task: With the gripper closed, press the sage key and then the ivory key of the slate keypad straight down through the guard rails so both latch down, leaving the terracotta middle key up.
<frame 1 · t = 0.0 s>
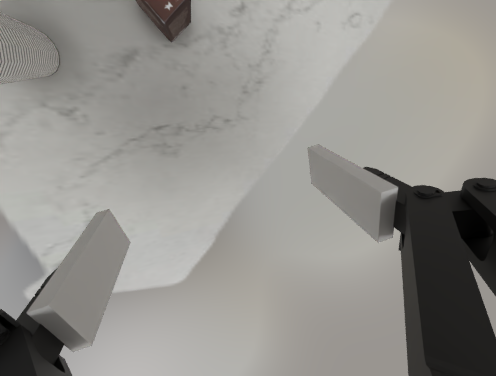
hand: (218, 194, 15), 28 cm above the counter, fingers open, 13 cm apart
cup: (35, 52, 31), on the counter
box: (166, 12, 32), on the counter
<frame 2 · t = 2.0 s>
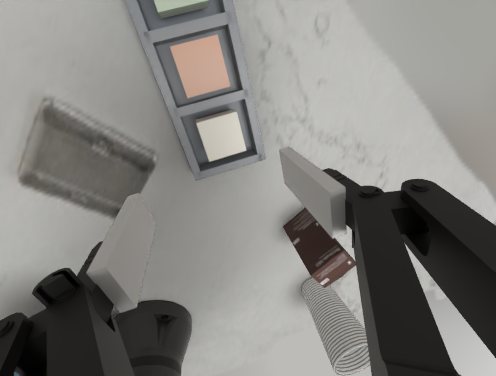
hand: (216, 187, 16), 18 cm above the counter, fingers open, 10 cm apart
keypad: (200, 69, 28), on the counter
key terracotta: (201, 68, 24), point 4 cm above the counter, slide at 0.0 cm
cup: (313, 284, 51), on the counter
key ivory: (221, 135, 28), point 4 cm above the counter, slide at 0.0 cm
box: (299, 221, 42), on the counter
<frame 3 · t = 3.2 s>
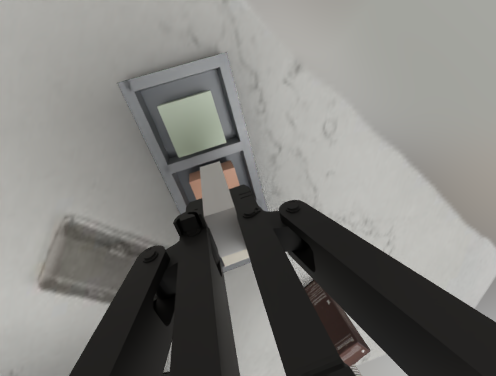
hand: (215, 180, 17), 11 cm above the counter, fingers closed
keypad: (214, 176, 29), on the counter
key terracotta: (217, 189, 25), point 4 cm above the counter, slide at 0.0 cm
key ivory: (236, 239, 29), point 4 cm above the counter, slide at 0.0 cm
key sage: (193, 123, 22), point 4 cm above the counter, slide at 0.0 cm
box: (309, 290, 43), on the counter
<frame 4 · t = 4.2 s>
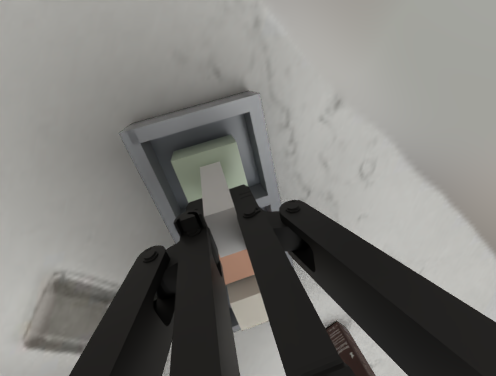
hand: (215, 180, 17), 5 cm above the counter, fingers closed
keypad: (231, 224, 24), on the counter
key terracotta: (238, 249, 21), point 4 cm above the counter, slide at 0.0 cm
key ivory: (255, 299, 24), point 4 cm above the counter, slide at 0.0 cm
key sage: (212, 174, 18), point 3 cm above the counter, slide at 0.9 cm, touching gripper
box: (327, 332, 39), on the counter
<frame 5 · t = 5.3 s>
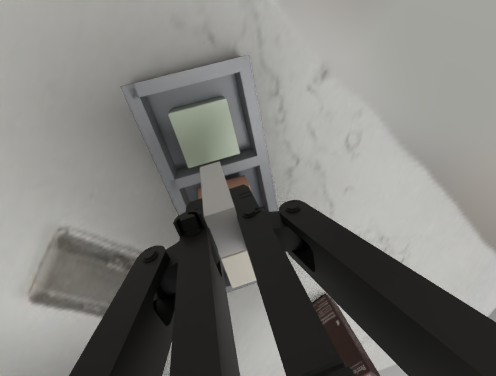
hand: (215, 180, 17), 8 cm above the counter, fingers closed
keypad: (224, 189, 26), on the counter
key terracotta: (229, 207, 23), point 4 cm above the counter, slide at 0.0 cm
key ivory: (245, 259, 26), point 4 cm above the counter, slide at 0.0 cm
key sage: (205, 131, 20), point 3 cm above the counter, slide at 1.4 cm
box: (316, 305, 41), on the counter
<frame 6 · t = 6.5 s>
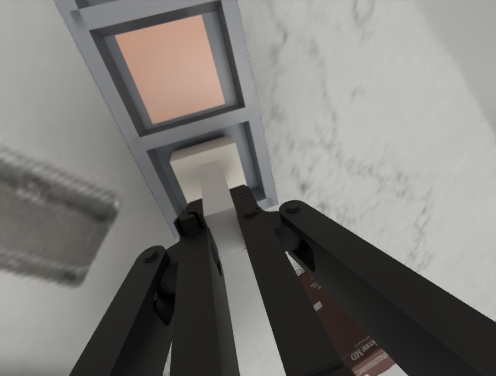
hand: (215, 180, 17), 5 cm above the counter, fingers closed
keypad: (179, 74, 18), on the counter
key terracotta: (176, 73, 14), point 4 cm above the counter, slide at 0.0 cm
key ivory: (211, 175, 18), point 4 cm above the counter, slide at 0.1 cm, touching gripper
box: (317, 270, 32), on the counter
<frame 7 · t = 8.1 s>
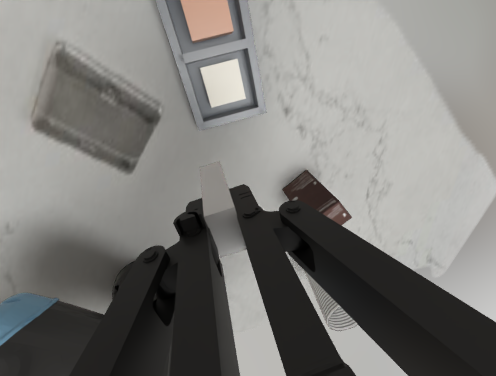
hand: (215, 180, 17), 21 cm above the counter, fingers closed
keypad: (205, 19, 29), on the counter
key terracotta: (206, 12, 25), point 4 cm above the counter, slide at 0.0 cm
cup: (310, 252, 53), on the counter
key ivory: (223, 83, 30), point 3 cm above the counter, slide at 1.4 cm
box: (298, 185, 43), on the counter
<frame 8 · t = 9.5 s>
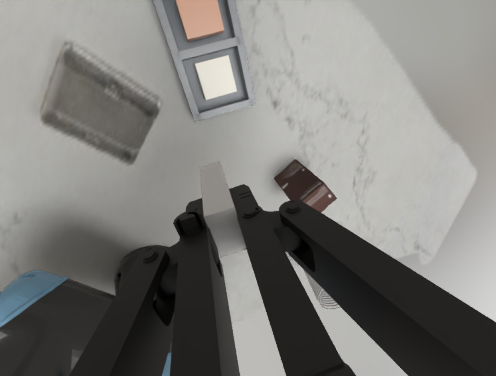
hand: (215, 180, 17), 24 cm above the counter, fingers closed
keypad: (198, 21, 32), on the counter
key terracotta: (199, 14, 28), point 4 cm above the counter, slide at 0.0 cm
cup: (303, 239, 55), on the counter
key ivory: (216, 78, 33), point 3 cm above the counter, slide at 1.4 cm
box: (288, 174, 46), on the counter
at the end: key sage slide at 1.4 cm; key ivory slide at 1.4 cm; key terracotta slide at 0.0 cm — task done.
